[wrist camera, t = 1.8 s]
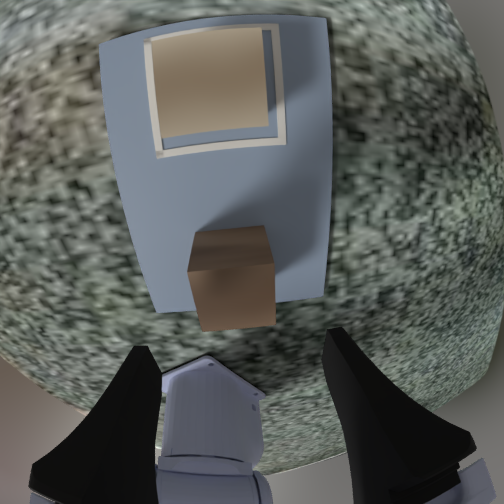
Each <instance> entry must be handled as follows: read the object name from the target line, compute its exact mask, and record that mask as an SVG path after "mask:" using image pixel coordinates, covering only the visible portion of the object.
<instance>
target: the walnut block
mask: <svg viewBox="0 0 504 504" xmlns="http://www.w3.org/2000/svg"><path fill="white" fill-rule="evenodd" d="M187 275H188V279H189V283H190V287H191V291H192V295H193V299H194V303H195V306H196V310H197V314H198V318H199V321H200V325H201V328H202V332H206V331H219V330H231V329H242V328H251V327H261V326H270V325H276V299H275V263H274V259H273V256H272V252H271V248H270V245H269V241H268V238H267V234H266V230H265V227H264V225H261V226H251V227H241V228H231V229H221V230H212V231H202V232H195V235H194V240H193V244H192V249H191V254H190V259H189V264H188V269H187Z"/></svg>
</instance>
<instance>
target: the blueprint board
mask: <svg viewBox="0 0 504 504" xmlns="http://www.w3.org/2000/svg"><path fill="white" fill-rule="evenodd" d="M259 27H262V38H263V50H264V63H265V77H266V91H267V106H268V122H269V126H264V127H249V128H237V129H226V130H217V131H209V132H201V133H193V134H187V135H180V136H174V137H168V138H162V139H161V133H160V125H159V117H158V109H157V101H156V91H155V81H154V70H153V57H152V42H151V41H155V40H159V39H164V38H168V37H174V36H179V35H185V34H191V33H198V32H205V31H213V30H223V29H236V28H259ZM99 55H100V71H101V83H102V93H103V102H104V110H105V117H106V124H107V131H108V137H109V143H110V149H111V154H112V159H113V164H114V169H115V174H116V179H117V183H118V188H119V192H120V196H121V200H122V204H123V208H124V212H125V216H126V220H127V223H128V227H129V231H130V234H131V238H132V241H133V244H134V248H135V251H136V254H137V258H138V261H139V264H140V267H141V270H142V273H143V276H144V279H145V282H146V285H147V288H148V290H149V293H150V296H151V299H152V302H153V304H154V307H155V310H156V312H157V313H163V312H179V311H193V310H196V306H195V303H194V299H193V295H192V291H191V287H190V283H189V279H188V275H187V269H188V264H189V259H190V254H191V249H192V244H193V240H194V235H195V232H202V231H212V230H221V229H231V228H241V227H251V226H261V225H264V227H265V230H266V234H267V238H268V241H269V245H270V248H271V252H272V256H273V259H274V263H275V299H276V303H277V302H285V301H293V300H301V299H308V298H316V297H323V293H324V284H325V274H326V264H327V253H328V241H329V227H330V211H331V191H332V151H333V126H332V88H331V69H330V54H329V42H328V32H327V22H326V18H320V17H310V16H297V15H236V16H223V17H213V18H204V19H197V20H190V21H184V22H179V23H173V24H168V25H164V26H159V27H155V28H150V29H146V30H143V31H139V32H135V33H132V34H128V35H125V36H122V37H119V38H115V39H112V40H109V41H107V42H104V43H101V44H99Z"/></svg>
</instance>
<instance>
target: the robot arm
mask: <svg viewBox="0 0 504 504" xmlns="http://www.w3.org/2000/svg"><path fill="white" fill-rule="evenodd" d="M321 360H322V364H323V369H324V374H325V378H326V382H327V385H328V388H329V391H330V393H331V396H332V399H333V402H334V405H335V408H336V411H337V414H338V416H339V419H340V422H341V426H342V429H343V433H344V437H345V442H346V447H347V453H348V458H349V464H350V471H351V478H352V488H353V499H354V504H489V503H491V502H492V501H493V500H494V499H495V498H496V494H495V490H494V487H493V484H492V481H491V478H490V475H489V472H488V469H487V467H486V464H485V461H484V459H483V458H481V459H479V460H477V461H476V462H474V463H473V464H471V465H470V466H468V467H466V468H465V469H463V470H460V471H458V472H457V469H459V468H460V466H459V463H458V462H459V461H461V460H462V459H464V458H466V457H467V456H468V455H470V454H472V453H473V452H474V451H476V449H477V448H476V445H475V442H474V440H473V438H472V436H471V434H470V432H469V431H466V430H464V429H462V428H460V427H457V426H455V425H453V424H451V423H449V422H447V421H445V420H443V419H442V418H440V417H438V416H437V415H435V414H433V413H432V412H430V411H429V410H427V409H426V408H424V407H423V406H421V405H420V404H418V403H417V402H416V401H414V400H413V399H412V398H410V397H409V396H408V395H407V394H405V393H404V392H403V391H402V390H400V389H399V388H398V387H397V386H396V385H395V384H394V383H393V382H392V381H391V380H389V379H388V378H387V377H386V376H385V375H384V374H383V373H382V372H381V371H380V370H379V369H378V368H377V367H376V366H375V364H374V363H373V362H372V361H371V360H370V359H369V358H368V357H367V356H366V355H365V354H364V352H363V351H362V350H361V349H360V348H359V347H358V345H357V344H356V343H355V342H354V341H353V340H352V338H351V337H350V336H349V335H348V333H347V332H346V331H345V330H344V328H342V327H338V328H332V329H327V333H326V339H325V344H324V349H323V354H322V359H321ZM162 391H163V392H164V393H166V394H167V398H166V407H165V417H164V427H163V438H162V451H161V456H159V457H158V465H157V464H155V440H156V432H157V425H158V417H159V411H160V404H161V397H162ZM264 398H265V393H263V392H262V391H260V390H259V389H257V388H256V387H254V386H253V385H251V384H250V383H248V382H247V381H245V380H244V379H242V378H241V377H239V376H238V375H236V374H235V373H233V372H232V371H231V370H229V369H228V368H226V367H225V366H224V365H222V364H221V363H219V362H218V361H217V360H215V359H214V358H213V357H211V356H203V357H201V358H199V359H197V360H195V361H192V362H190V363H188V364H186V365H183V366H181V367H179V368H176V369H174V370H172V371H169V372H167V373H164V374H162V372H161V370H160V369H159V367H158V365H157V363H156V361H155V359H154V357H153V355H152V354H151V352H150V350H149V348H148V346H134V347H133V348H132V350H131V351H130V353H129V354H128V356H127V358H126V359H125V361H124V362H123V364H122V366H121V367H120V369H119V370H118V372H117V374H116V375H115V377H114V378H113V380H112V381H111V383H110V384H109V386H108V387H107V389H106V390H105V392H104V393H103V395H102V396H101V397H100V399H99V400H98V402H97V403H96V404H95V406H94V407H93V408H92V410H91V411H90V412H89V414H88V415H87V416H86V417H85V419H84V420H83V421H82V422H81V423H80V424H79V425H78V426H77V427H76V428H75V430H74V431H73V432H72V433H71V434H70V435H69V436H68V437H67V438H66V439H64V440H63V441H62V442H61V443H60V444H59V445H58V446H57V447H55V448H54V449H53V450H52V451H50V452H49V453H48V454H47V455H45V456H44V457H42V458H41V459H39V460H38V461H36V462H35V463H33V464H32V469H31V474H30V480H29V488H30V489H31V490H32V491H34V492H36V493H38V494H40V495H42V496H44V497H46V498H48V499H50V500H48V499H46V498H44V497H41V496H39V495H37V494H35V493H31V497H30V504H273V499H272V493H271V489H270V486H269V483H268V481H267V480H266V478H265V477H264V476H263V475H262V474H261V473H260V472H259V471H253V470H252V468H254V467H255V466H256V465H257V464H258V462H259V461H260V459H261V457H262V454H263V449H264V442H263V434H262V426H261V417H260V409H259V400H262V399H264ZM51 500H53V501H55V502H53V501H51Z"/></svg>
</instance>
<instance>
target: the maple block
mask: <svg viewBox="0 0 504 504" xmlns="http://www.w3.org/2000/svg"><path fill="white" fill-rule="evenodd" d="M151 42H152V57H153V70H154V81H155V91H156V101H157V109H158V117H159V125H160V133H161V139H162V138H168V137H174V136H180V135H187V134H193V133H201V132H209V131H217V130H226V129H237V128H249V127H264V126H269V122H268V106H267V91H266V77H265V63H264V50H263V38H262V27H259V28H236V29H223V30H213V31H205V32H198V33H191V34H185V35H179V36H174V37H168V38H164V39H159V40H155V41H151Z"/></svg>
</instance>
